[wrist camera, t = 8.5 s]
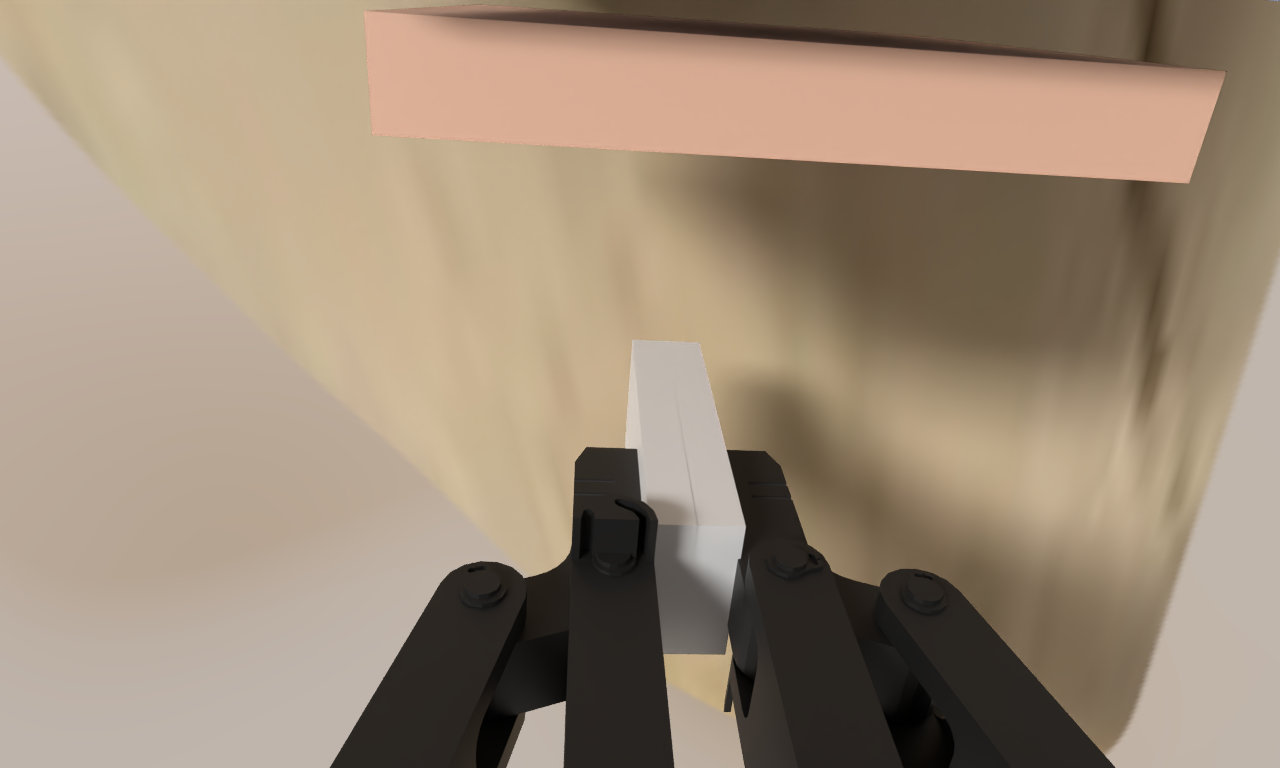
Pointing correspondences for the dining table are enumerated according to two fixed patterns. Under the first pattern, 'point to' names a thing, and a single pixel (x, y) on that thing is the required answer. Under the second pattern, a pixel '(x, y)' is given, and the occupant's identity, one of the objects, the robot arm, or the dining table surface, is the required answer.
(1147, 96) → the stub
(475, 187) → the dining table surface
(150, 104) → the dining table surface
